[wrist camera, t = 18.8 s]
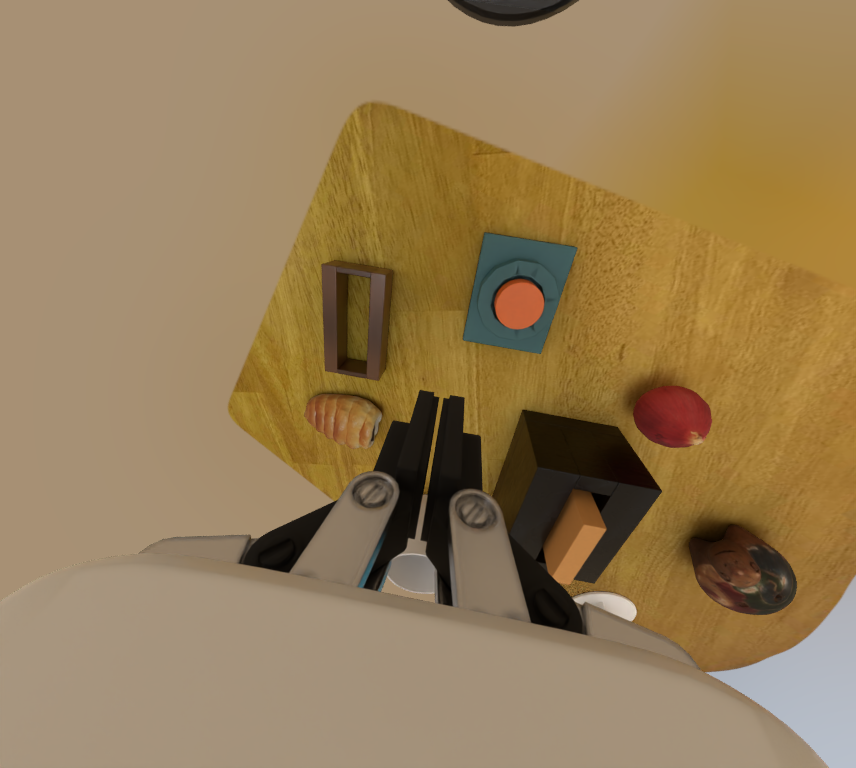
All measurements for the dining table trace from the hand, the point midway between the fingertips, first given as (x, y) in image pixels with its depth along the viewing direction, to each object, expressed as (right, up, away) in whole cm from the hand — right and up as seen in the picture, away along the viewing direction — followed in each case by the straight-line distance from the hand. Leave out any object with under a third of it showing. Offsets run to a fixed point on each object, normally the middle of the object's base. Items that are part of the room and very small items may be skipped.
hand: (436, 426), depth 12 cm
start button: (+8, +9, +16) cm, 20 cm away
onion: (+24, 0, +21) cm, 32 cm away
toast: (+15, -10, +26) cm, 31 cm away
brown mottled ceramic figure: (+40, -20, +30) cm, 54 cm away
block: (+8, +10, +18) cm, 22 cm away
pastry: (-10, -2, +28) cm, 30 cm away
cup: (0, -17, +34) cm, 38 cm away
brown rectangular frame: (-7, +9, +21) cm, 24 cm away
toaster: (+15, -9, +27) cm, 33 cm away
